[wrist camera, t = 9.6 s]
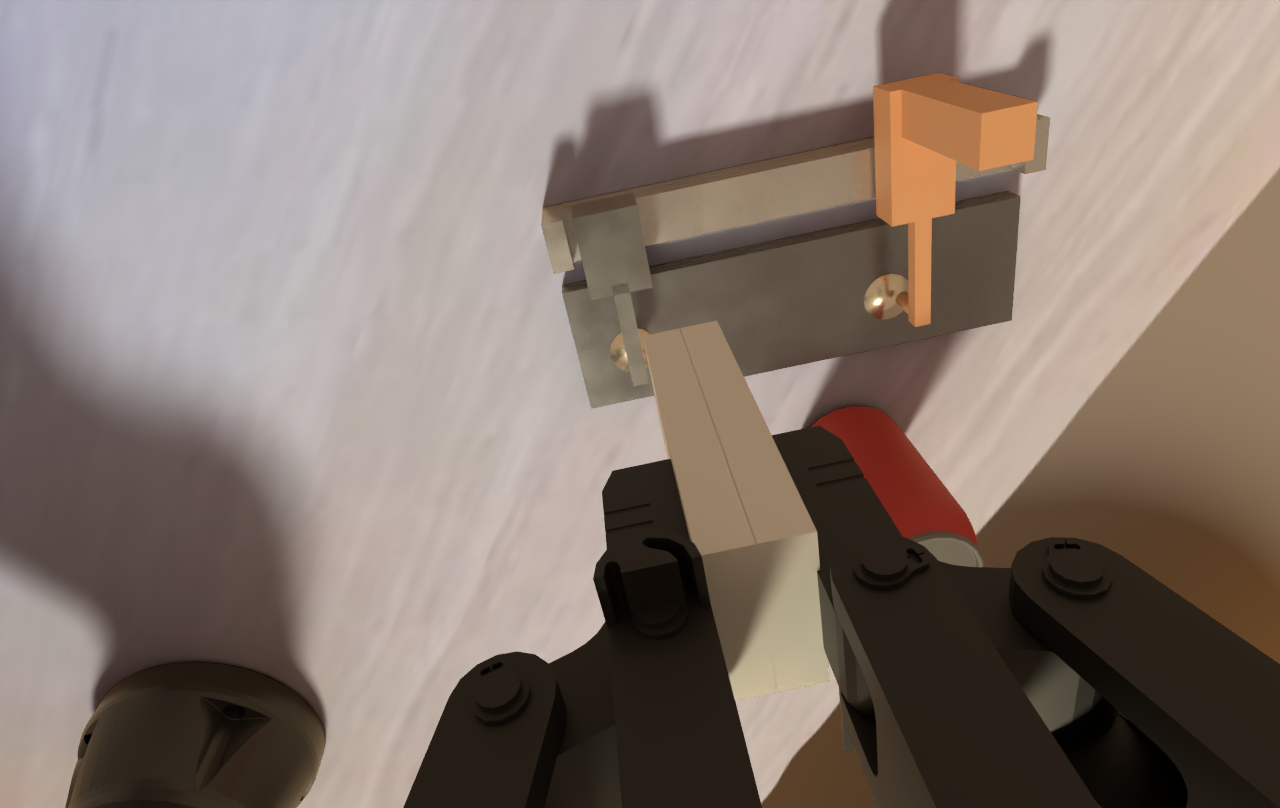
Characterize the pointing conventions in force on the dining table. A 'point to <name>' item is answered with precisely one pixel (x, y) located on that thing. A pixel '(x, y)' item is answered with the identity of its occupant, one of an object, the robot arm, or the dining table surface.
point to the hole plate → (809, 295)
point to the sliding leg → (938, 159)
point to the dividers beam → (711, 215)
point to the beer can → (905, 484)
